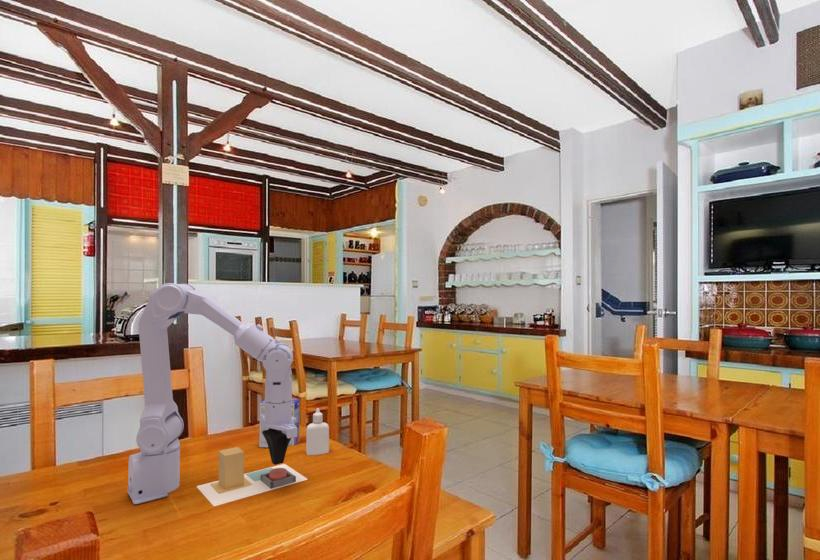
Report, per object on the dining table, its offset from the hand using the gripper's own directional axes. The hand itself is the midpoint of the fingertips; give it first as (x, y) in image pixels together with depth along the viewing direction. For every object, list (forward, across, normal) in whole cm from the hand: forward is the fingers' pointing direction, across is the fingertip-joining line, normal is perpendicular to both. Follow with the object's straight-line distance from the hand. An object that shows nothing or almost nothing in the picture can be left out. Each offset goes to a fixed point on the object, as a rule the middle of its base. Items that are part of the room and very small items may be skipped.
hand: (277, 463), depth 102 cm
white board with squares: (+5, +3, +4) cm, 7 cm away
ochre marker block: (+4, +5, +8) cm, 10 cm away
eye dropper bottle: (+5, +11, -16) cm, 19 cm away
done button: (+4, 0, 0) cm, 4 cm away
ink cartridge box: (+5, +25, -12) cm, 28 cm away
